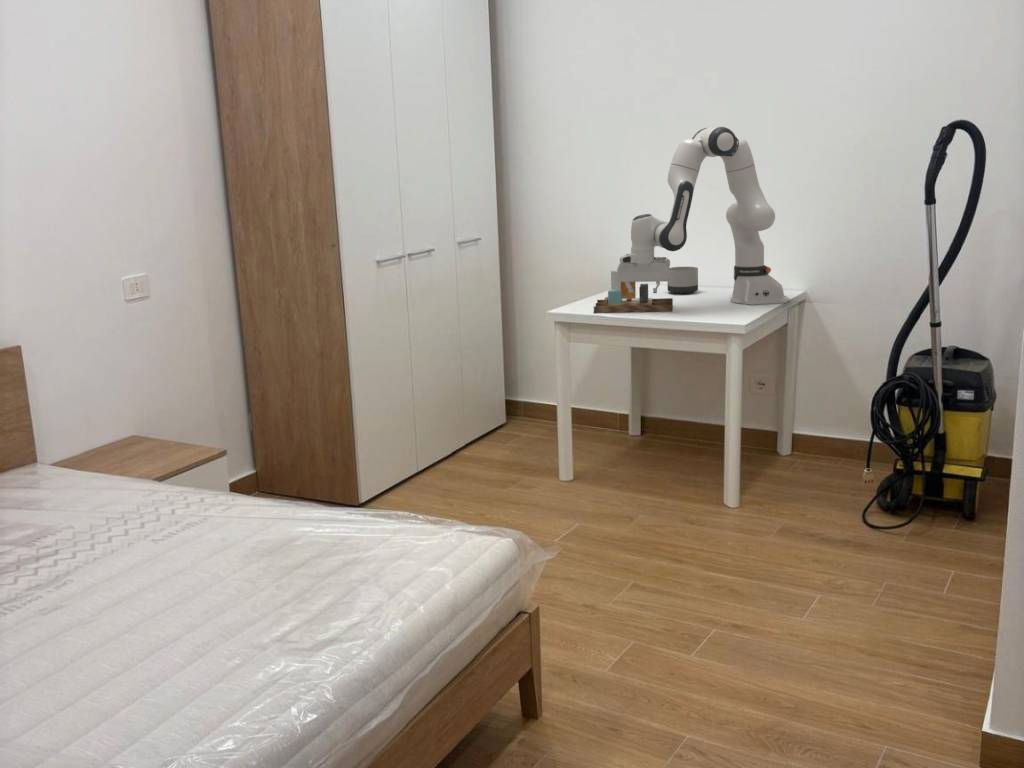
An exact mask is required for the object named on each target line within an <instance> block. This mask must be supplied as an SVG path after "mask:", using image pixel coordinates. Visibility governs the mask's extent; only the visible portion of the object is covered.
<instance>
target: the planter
mask: <svg viewBox="0 0 1024 768" xmlns="http://www.w3.org/2000/svg"><path fill="white" fill-rule="evenodd" d="M668 270H669V280H668V281H666V282H667V283H666V284H667V292H669V293H672V294H673V295H691V294H694V293H695V292H697V291H698V290H699V267H697V266H696V267H695V266H675V267H674V266H673V267H669V268H668Z"/></svg>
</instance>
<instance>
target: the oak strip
mask: <svg viewBox="0 0 1024 768" xmlns="http://www.w3.org/2000/svg"><path fill="white" fill-rule="evenodd" d="M638 287H639V297H638V298H640V301H634V302H622V303H621V304H608V296H605V298H604V299H603V300H604V306H646V305H652V301H648V298H649V289H648V290H647V287H640V286H638Z"/></svg>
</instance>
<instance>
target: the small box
mask: <svg viewBox="0 0 1024 768" xmlns="http://www.w3.org/2000/svg"><path fill="white" fill-rule="evenodd" d="M616 276H617V269H616V270H610V280H611V281H610V283H611V284H610V285H611V286H610V290H612V289H622V299H623V298H627V299H632V298H637V296H636V295H637V294H636V293H637V291H636V282H629V287H630V288H632V291H633V292H632V293H630V294H629V289H628V288H627V286H626V282H618V281H617V280H616Z"/></svg>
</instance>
